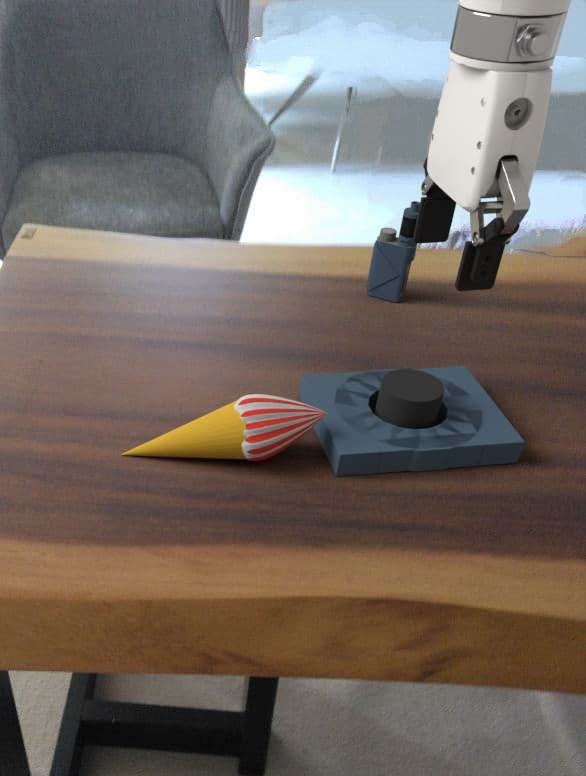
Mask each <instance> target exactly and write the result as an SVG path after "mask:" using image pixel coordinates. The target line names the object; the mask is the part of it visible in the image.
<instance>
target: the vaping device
mask: <svg viewBox="0 0 586 776" xmlns="http://www.w3.org/2000/svg"><path fill="white" fill-rule="evenodd" d="M419 206H420V201H416V200H413V201H411V203H410V207H405V208H403V209H404V210H403V214H402V219H401V224H400V227H399V233H398V231H397V230H396V228H393V227H382V228H380V231H379V235H378V236H377V237H376V240H375V241H374V242H373V243H374V244H373V249H372V253H371V259H370V265H369V270H368V275H367V280H366V287H365V288H366V293H367V295H368V296H370V297H373V298H375V299H381V300H383V301H384V300H385V301H387V302H391V303H392V302H393V303H400V302H402V301H403V300H404V298H405V293H406V290H407V285H408V284H407V283H408V280H409V275H410V271H411V267H412V266H411V265H412V262H413V261H414V260H415V257H416V256H417V254H416V252H417V247H418V245H419V244H417V243H416V242H415V241H414V240H413V235H414V231H415V226H416V221H417V216H418V211H419ZM397 235H398V236H397Z"/></svg>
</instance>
